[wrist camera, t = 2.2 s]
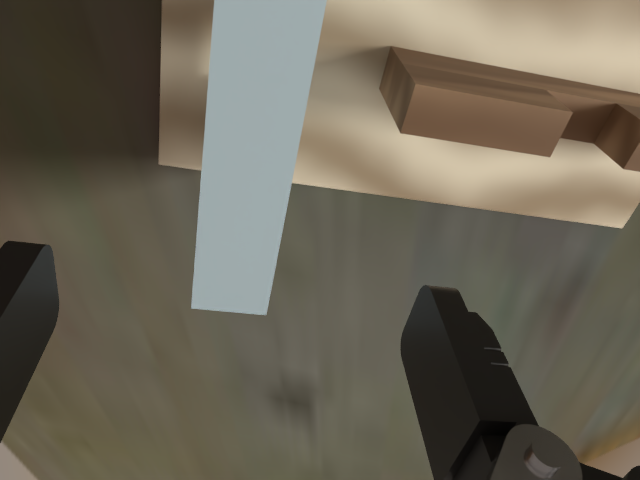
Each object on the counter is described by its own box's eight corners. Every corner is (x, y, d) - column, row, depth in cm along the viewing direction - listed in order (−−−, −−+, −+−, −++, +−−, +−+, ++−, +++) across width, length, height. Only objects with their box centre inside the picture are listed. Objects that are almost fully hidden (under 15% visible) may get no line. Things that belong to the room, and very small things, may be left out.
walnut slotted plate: (390, 45, 28) (415, 84, 23) (703, 105, 31) (781, 150, 26) (378, 88, 29) (400, 133, 24) (679, 141, 32) (750, 189, 28)
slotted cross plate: (245, -121, 23) (222, -109, 12) (311, -105, 23) (342, -82, 13) (218, 158, 31) (191, 308, 20) (268, 165, 31) (266, 315, 21)
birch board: (169, -168, 22) (165, -169, 22) (767, -19, 28) (782, -15, 27) (161, 156, 32) (158, 164, 31) (614, 220, 37) (622, 228, 36)
